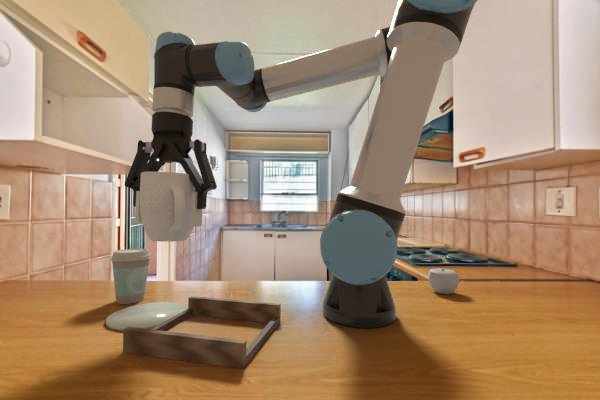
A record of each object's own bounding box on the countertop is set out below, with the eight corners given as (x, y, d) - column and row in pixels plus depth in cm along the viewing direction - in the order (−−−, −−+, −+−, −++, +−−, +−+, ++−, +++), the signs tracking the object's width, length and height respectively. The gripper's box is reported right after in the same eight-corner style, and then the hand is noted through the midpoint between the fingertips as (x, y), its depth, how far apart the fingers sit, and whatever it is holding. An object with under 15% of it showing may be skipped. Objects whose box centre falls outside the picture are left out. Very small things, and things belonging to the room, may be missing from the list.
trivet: (201, 307, 66) (201, 305, 66) (155, 335, 52) (155, 331, 52) (144, 302, 70) (144, 299, 70) (85, 326, 55) (85, 323, 55)
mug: (210, 244, 54) (213, 173, 55) (143, 247, 48) (147, 167, 49) (190, 236, 67) (192, 178, 67) (134, 238, 60) (137, 174, 61)
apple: (462, 292, 81) (462, 268, 81) (456, 298, 75) (456, 272, 75) (431, 287, 86) (431, 264, 86) (423, 293, 80) (423, 268, 80)
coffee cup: (121, 308, 65) (122, 254, 66) (102, 301, 70) (103, 251, 70) (157, 298, 73) (158, 250, 73) (138, 293, 77) (139, 247, 78)
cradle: (280, 321, 59) (280, 303, 59) (243, 369, 41) (243, 343, 41) (190, 312, 63) (191, 296, 63) (122, 352, 46) (123, 329, 46)
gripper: (236, 119, 60) (232, 226, 60) (135, 122, 65) (131, 221, 65) (219, 107, 53) (214, 228, 52) (107, 111, 58) (101, 223, 57)
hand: (168, 224), depth 58 cm, fingers closed on mug, 12 cm apart
